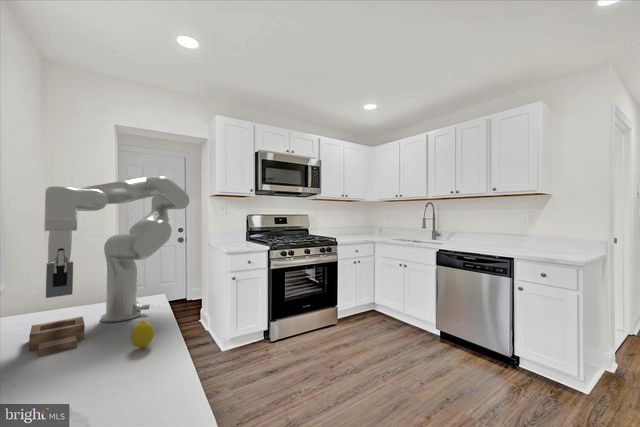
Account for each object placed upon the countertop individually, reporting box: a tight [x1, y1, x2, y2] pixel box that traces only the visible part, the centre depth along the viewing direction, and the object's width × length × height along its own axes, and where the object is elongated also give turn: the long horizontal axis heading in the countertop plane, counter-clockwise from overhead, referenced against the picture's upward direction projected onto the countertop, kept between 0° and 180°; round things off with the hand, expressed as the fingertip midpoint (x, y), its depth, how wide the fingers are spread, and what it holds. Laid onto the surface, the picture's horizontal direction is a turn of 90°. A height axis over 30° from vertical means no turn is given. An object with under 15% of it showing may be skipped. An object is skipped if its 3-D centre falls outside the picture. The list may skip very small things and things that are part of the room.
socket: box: [28, 316, 86, 357], centre depth 87 cm, size 12×22×4 cm, turn 43°
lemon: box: [130, 320, 155, 350], centre depth 81 cm, size 6×6×8 cm
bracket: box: [45, 260, 74, 299], centre depth 88 cm, size 6×4×10 cm, turn 134°
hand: (59, 284), depth 88 cm, fingers closed on bracket, 3 cm apart
